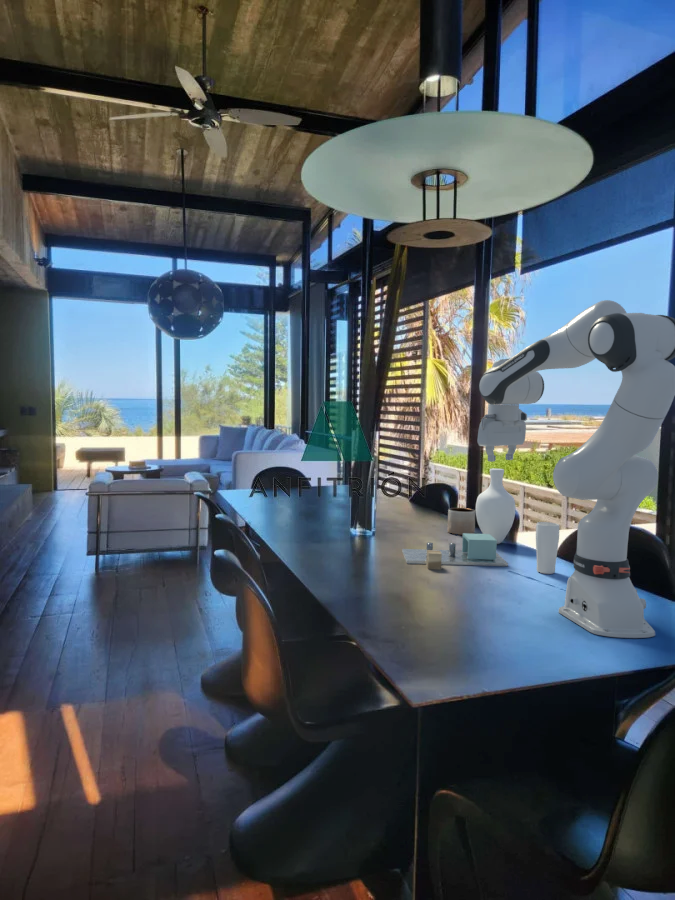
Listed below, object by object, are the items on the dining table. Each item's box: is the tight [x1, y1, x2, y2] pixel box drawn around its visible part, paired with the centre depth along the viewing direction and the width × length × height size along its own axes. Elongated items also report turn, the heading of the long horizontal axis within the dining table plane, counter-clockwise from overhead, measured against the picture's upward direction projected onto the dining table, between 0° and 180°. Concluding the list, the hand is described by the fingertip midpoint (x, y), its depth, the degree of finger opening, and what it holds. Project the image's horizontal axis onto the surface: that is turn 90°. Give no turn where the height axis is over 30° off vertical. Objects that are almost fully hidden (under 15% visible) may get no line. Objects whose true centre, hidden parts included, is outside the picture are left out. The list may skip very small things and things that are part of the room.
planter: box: [446, 507, 476, 536], centre depth 238 cm, size 11×11×10 cm
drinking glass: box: [535, 521, 560, 575], centre depth 179 cm, size 7×7×15 cm
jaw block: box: [425, 549, 442, 570], centre depth 182 cm, size 4×4×5 cm
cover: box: [461, 533, 498, 560], centre depth 194 cm, size 10×9×6 cm
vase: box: [475, 467, 516, 545], centre depth 219 cm, size 14×14×28 cm
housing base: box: [401, 542, 509, 567], centre depth 194 cm, size 16×32×5 cm, turn 89°
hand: (500, 460), depth 176 cm, fingers open, 8 cm apart
